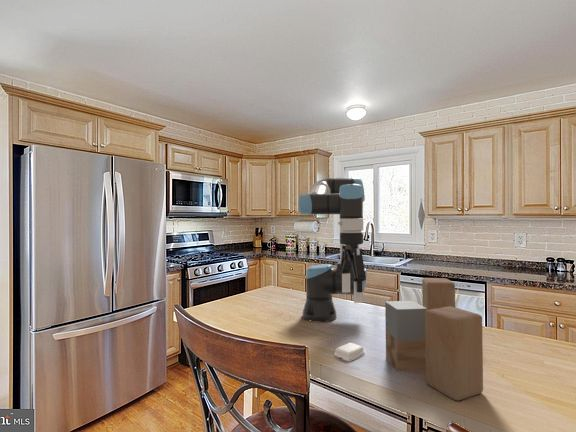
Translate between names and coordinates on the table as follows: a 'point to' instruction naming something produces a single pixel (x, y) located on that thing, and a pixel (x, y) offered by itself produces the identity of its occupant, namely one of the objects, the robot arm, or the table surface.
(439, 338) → the block
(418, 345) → the walnut base cube
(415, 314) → the grey cube
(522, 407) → the table surface
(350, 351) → the soap
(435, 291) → the wooden block
